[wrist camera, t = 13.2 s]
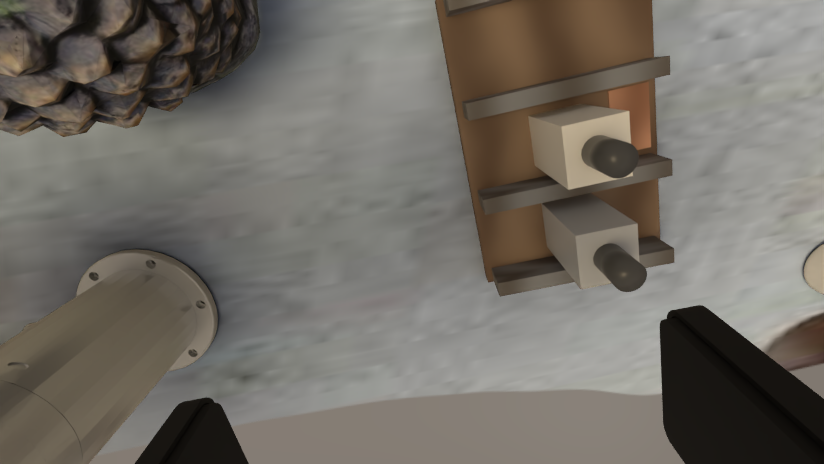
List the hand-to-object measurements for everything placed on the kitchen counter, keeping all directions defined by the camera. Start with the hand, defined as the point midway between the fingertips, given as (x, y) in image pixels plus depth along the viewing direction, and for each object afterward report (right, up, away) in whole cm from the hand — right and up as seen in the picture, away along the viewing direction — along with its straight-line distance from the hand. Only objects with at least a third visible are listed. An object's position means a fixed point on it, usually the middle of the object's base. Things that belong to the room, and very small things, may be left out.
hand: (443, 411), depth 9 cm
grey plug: (+12, +5, +27) cm, 30 cm away
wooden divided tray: (+11, +12, +26) cm, 30 cm away
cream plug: (+11, +11, +25) cm, 29 cm away
